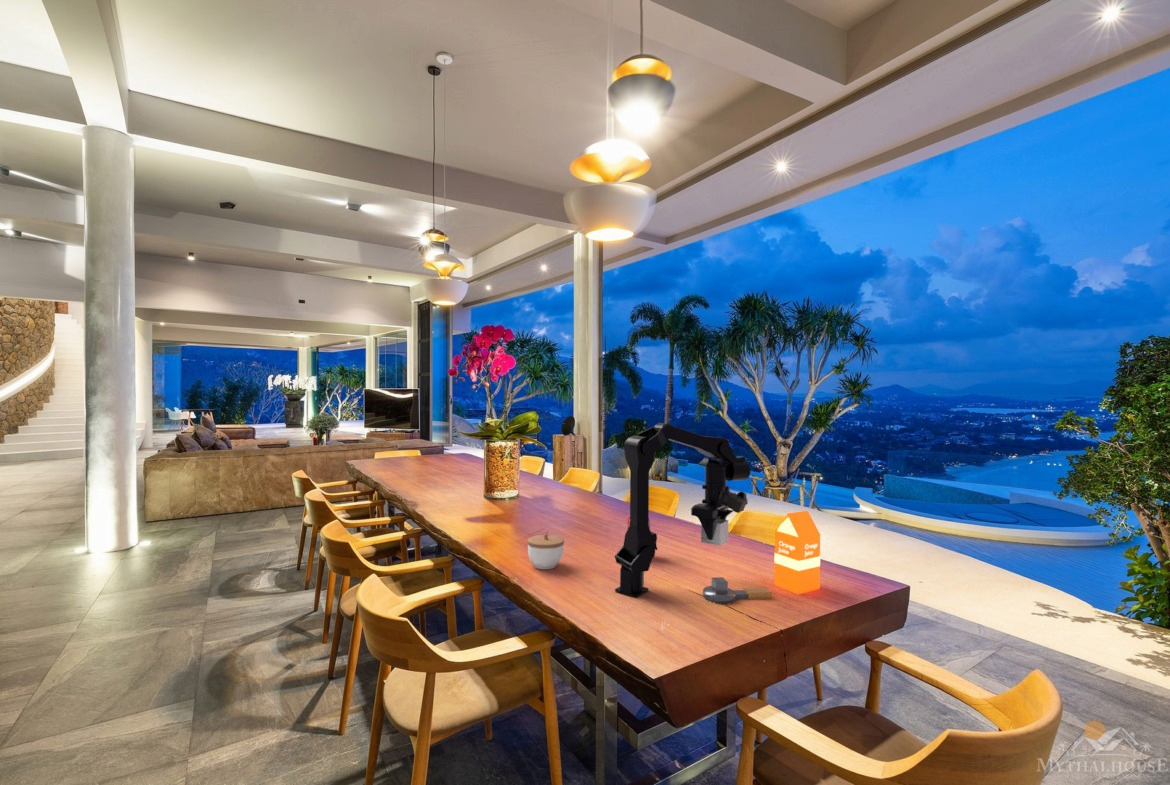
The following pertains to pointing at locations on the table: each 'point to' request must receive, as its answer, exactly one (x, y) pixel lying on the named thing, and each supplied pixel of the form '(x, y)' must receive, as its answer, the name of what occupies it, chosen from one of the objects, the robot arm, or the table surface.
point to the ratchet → (732, 592)
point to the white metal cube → (717, 533)
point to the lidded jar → (545, 550)
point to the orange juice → (797, 553)
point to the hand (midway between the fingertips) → (714, 537)
